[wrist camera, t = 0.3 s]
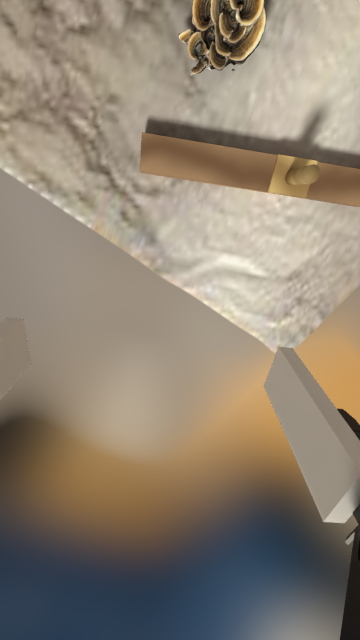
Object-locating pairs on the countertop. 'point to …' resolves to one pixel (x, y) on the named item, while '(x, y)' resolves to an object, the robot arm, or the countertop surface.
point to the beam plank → (249, 170)
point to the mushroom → (224, 32)
